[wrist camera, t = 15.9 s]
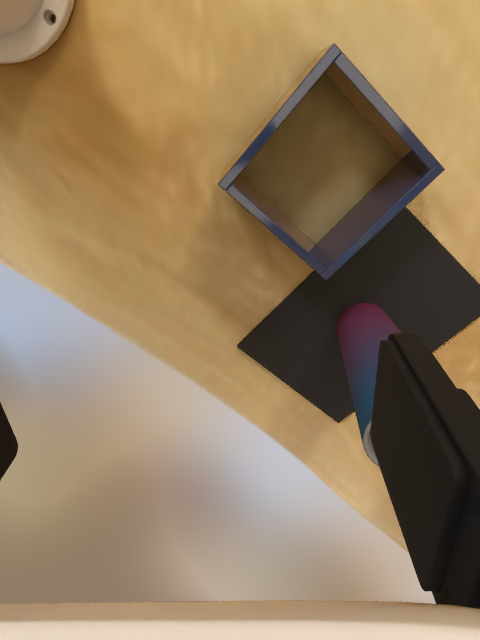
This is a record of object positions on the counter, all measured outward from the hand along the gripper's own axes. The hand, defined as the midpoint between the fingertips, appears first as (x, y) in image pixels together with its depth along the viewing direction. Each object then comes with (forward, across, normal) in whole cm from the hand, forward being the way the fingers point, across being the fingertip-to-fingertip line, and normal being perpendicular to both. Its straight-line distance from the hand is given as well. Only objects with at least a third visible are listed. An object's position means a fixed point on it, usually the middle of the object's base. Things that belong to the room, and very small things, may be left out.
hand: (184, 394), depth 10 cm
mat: (+28, -12, +14) cm, 34 cm away
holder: (+28, -7, -1) cm, 29 cm away
